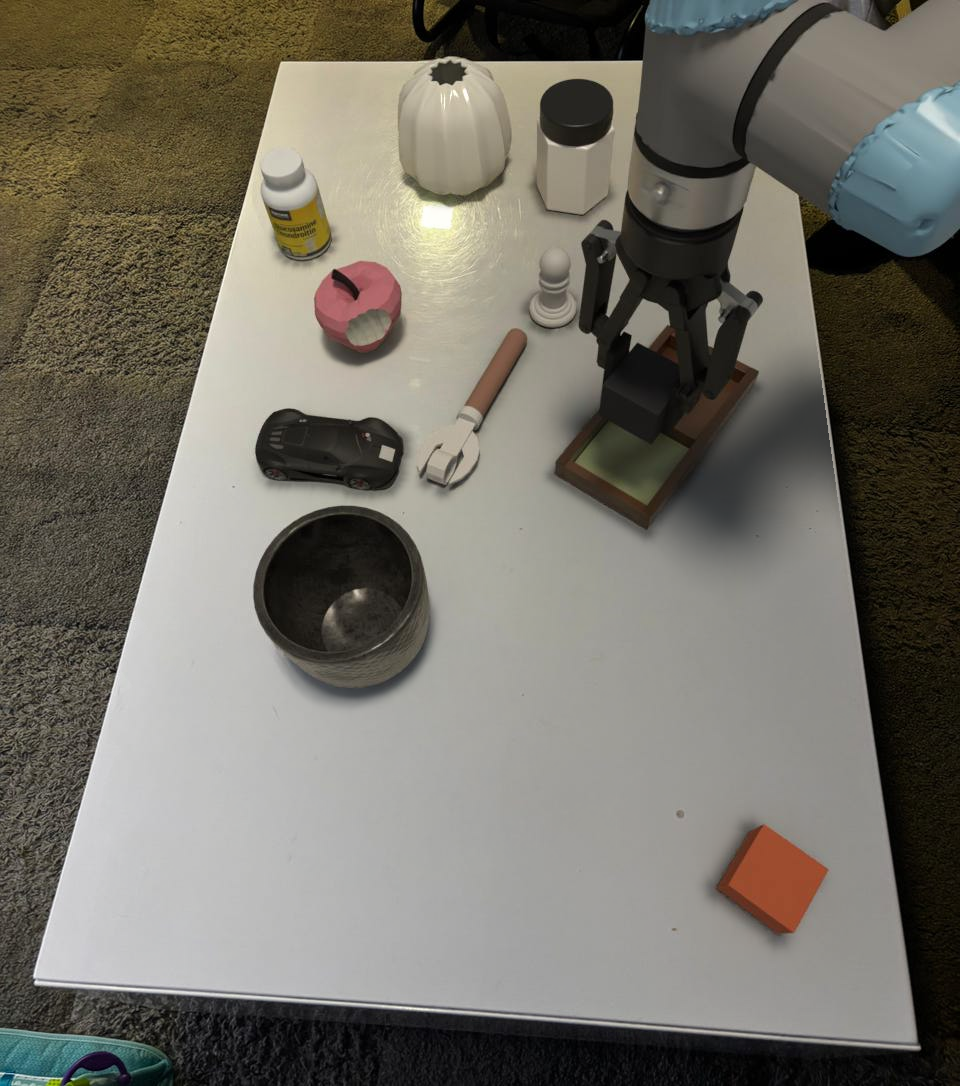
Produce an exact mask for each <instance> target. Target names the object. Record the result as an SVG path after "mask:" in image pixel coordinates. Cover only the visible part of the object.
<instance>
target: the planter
mask: <svg viewBox="0 0 960 1086" xmlns="http://www.w3.org/2000/svg"><path fill="white" fill-rule="evenodd" d="M419 551H420V550H419V548H418V547H417V545H416V543H415V541H414V540H413V538H412V537H411V535H410V534H409V533H408V531H407V530H406V529H404V527H403V526H402V525H401V524H400V523H398V522H397V521H396V520H394V519H393V518H391V517H390V516H388V515H386V514H385V513H382V512H381V511H378V510H376V509H372V508H369V507H366V506H365V507H364V506H358V505H344V504H343V505H335V506H334V505H333V506H328V507H324V508H320V509H316V510H313V511H311V512H309V513H306V514H304V515H302V516H300V517H298V518H297V519H295V520H294V521H292V522H291V523H290V524H288V525H287V526H285V527H284V528H283V529H282V530H280V532H279V533H278V534H276V536H275V537H274V538H273V539H272V540H271V542H270V543H269V545H268V546H267V547H266V548H265V550H264V552H263V554H262V556H261V557H260V560H259V562H258V564H257V568H256V571H255V575H254V580H253V585H252V586H253V588H252V589H253V591H252V599H253V605H254V610H255V613H256V616H257V619H258V622H259V624H260V626H261V628H262V630H263V631H264V633H265V635H266V636H267V637H268V638H269V640H270V641H271V642H272V643H273V644H274V646H275V647H276V648H277V649H278V650H279V651H280V652H282V653H283V655H285V656H286V657H287V658H288V659H290V660H291V661H292V662H293V663H294V664H295V665H296V666H298V667H299V668H300V669H301V670H302V671H304V672H305V673H306V674H308V675H309V676H311V677H314V678H315V679H316V680H318V681H320V682H324V683H326V684H329V685H331V686H335V687H341V688H349V689H351V688H352V689H358V688H359V689H360V688H367V687H372V686H376V685H379V684H382V683H384V682H386V681H389V680H390V679H392V678H394V677H395V676H396V675H398V674H400V673H401V672H402V671H403V670H405V669H406V668H407V667H408V666H409V665H410V664H411V662H412V661H413V660H414V658H415V657H416V656H417V654H418V653H419V652H420V650H421V648H422V646H423V643H424V641H425V639H426V637H427V632H428V629H429V624H430V623H429V621H430V613H431V612H430V611H431V610H430V609H431V606H430V595H429V586H428V579H427V575H426V571H425V567H424V563H423V558H422V556H421V553H420V552H419Z"/></svg>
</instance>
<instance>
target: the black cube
mask: <svg viewBox="0 0 960 1086" xmlns="http://www.w3.org/2000/svg"><path fill="white" fill-rule="evenodd" d="M679 377H680V373H679V364H678V363H676V362H674V361H672V360H670V359H668V358H666V357H664V356H662V355H660V354H658V353H657V352H655V351H653V350H651V349H649V347H647V346H645V345H643V344H641V343H639V342H636V343H635V345H633V347H631V349H630V350H629V353H628V355H627V356H626V357H625V358H624V359H623V361H622V362H621V363H620V364H619V366H618V367H617V368H616V369H615V370H614V372H613V373H612V374H611V375H610V376H609V377H608V379H607V380H606V381H605V382H604V383H603V382H602V383H603V385H602V384H601V391H602V392H601V391H600V401H599V407H598V409H599V416H601V417H603V418H605V419H607V420H608V421H610V422H612V423H614V424H615V425H617V426H619V427H621V428H622V429H624V430H626V431H628V432H629V433H631V434H633V435H635V436H637V437H638V438H640V439H642V440H644V441H645V442H647V443H649V444H652V443H653V442H654V441H655V439H656V438H657V437H658V435H659V434H660V431H661V427H662V423H663V419H664V416H665V412H666V408H667V402H668V398H669V394H670V390H671V387H672V386H673V384H674V383H675V382H676V380H677V379H678V378H679Z"/></svg>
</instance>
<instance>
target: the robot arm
mask: <svg viewBox="0 0 960 1086" xmlns="http://www.w3.org/2000/svg"><path fill="white" fill-rule="evenodd" d="M644 23H645V30H644V41H643V53H642V63H641V64H642V65H641V75H640V85H639V87H640V88H639V97H638V105H637V112H636V114H635V124H634V130H633V137H632V145H631V152H630V159H629V167H628V176H627V188H626V189H627V190H626V191H625V196H624V204H623V210H622V211H623V212H622V220H621V228H620V231H619V230H614V227H613V225H612V223H611V222H610V221H609V220H606V219H601V220H600V221H599V222H598V223H597V224H596V225H595V226H594V227H593V229H592V230H591V231H590V232H589V233H588V234H587V235H586V236H585V237H584V239H583V240H582V241H581V242H580V243H581V244H580V245H581V246H580V247H581V250H582V254H583V259H584V263H585V270H584V278H583V285H582V292H581V293H582V294H581V299H580V301H581V302H580V309H579V318H578V328H579V331H581V333H583V334H585V335H589V334H592V335H593V336H594V337H595V338H596V339H595V340H596V344H597V345H598V346H597V354H596V363H597V364H596V365H597V366H598V367H599V368H601V369H602V370H603V377H602V383H601V386H602V385H603V383H604V382H605V381H606V380H607V379H608V377H609V376H610V375H611V374H612V373H613V372H614V370H615V369H616V368H617V367H618V366H619V364H620V363H621V362H622V361H623V359H624V358H625V357H626V356H627V355H628V353H629V352H630V351H631V342H632V339H633V338H632V336H633V335H632V334H630V333H629V332H626V331H625V328H626V327H627V326H628V325H629V322H630V320H631V319H632V317H633V315H634V314H635V312H636V311H637V309H638V308H639V306H640V304H641V303H642V301H643V300H646V301H647V302H649V303H654V304H657V305H659V307H661V308H663V310H665V311H666V312H668V320H669V326H670V327H671V328H674V329H675V338H676V347H677V356H678V364H679V373H680V377H679V378H678V379H677V380H676V382H675V383H674V384H673V386H672V387H671V390H670V394H669V398H668V402H667V408H666V412H665V416H664V419H663V423H662V427H661V431H660V433H662V434H664V435H666V436H668V435H669V433H670V432H671V431H672V430H673V428H674V427H675V426H676V424H677V423H678V422H679V420H680V419H681V418H682V416H683V415H684V412H685V413H686V414H688V413H690V412H691V411H692V409H693V408H694V407H695V405H696V404H697V403H698V401H699V400H700V396H701V393H702V392H703V394H704V396H705V397H706V398H708V399H710V400H714V399H716V397H717V396H718V395H719V393H720V392H721V391H722V389H723V388H724V387H725V385H726V384H727V383H728V381H729V380H730V379H731V377H732V375H733V371H734V368H735V364H736V361H737V360H738V358H739V355H740V354H739V353H740V351H741V347H742V342H743V340H744V337H745V333H746V330H747V325H748V324H749V320H751V318H752V317H753V316H754V314H755V313H756V311H757V310H758V309H759V308H760V306H761V305H762V304H763V302H764V297H763V295H762V294H761V293H760V292H758V291H757V290H749V291H748V292H747V293H746V294H744V293H743V292H742V291H741V290H740V289H738V288H737V287H736V286H735V285H733V284H732V283H731V271H730V268H729V261H730V258H731V254H732V251H733V247H734V244H735V241H736V237H737V234H738V231H739V226H740V223H741V220H742V216H743V213H744V207H745V204H746V202H747V200H748V196H749V192H750V190H751V185H752V182H753V178H754V174H755V171H756V168H758V169H760V170H761V171H762V172H764V173H765V174H767V175H768V176H770V177H771V178H772V179H774V180H775V181H777V182H778V183H780V184H782V185H783V186H785V188H788V190H790V191H792V192H793V193H795V194H796V195H798V196H799V197H800V198H802V199H804V200H805V201H807V202H808V203H809V204H811V205H812V206H814V207H816V208H817V209H818V210H820V211H821V212H823V213H824V214H826V215H827V216H828V217H830V218H831V220H833V221H834V223H836V225H838V226H840V227H841V228H842V229H845V230H846V231H853V232H855V233H857V234H859V235H861V236H863V237H865V238H867V239H868V240H870V241H872V242H873V243H876V244H877V245H879V246H881V247H883V248H885V249H887V250H888V251H891V252H892V253H894V254H896V255H898V256H901V257H905V258H913V257H914V258H915V257H920V256H923V255H926V254H929V253H931V252H933V251H934V250H935V249H938V248H939V247H941V246H942V245H943V244H945V243H946V242H947V241H948V240H950V238H951V237H953V236H954V235H955V234H956V233H957V232H958V231H959V230H960V0H927V1H925V2H924V3H922V4H921V5H920V6H918V7H916V9H914V10H912V11H911V12H909V13H908V14H906V15H905V16H904V17H902V18H901V19H900V20H898V21H897V22H895V23H894V24H892V25H891V26H889V27H888V28H887V29H885V30H883V29H881V28H879V27H877V26H875V25H873V24H872V23H869V22H867V21H865V20H863V19H861V18H859V17H858V16H856V15H854V14H853V13H851V12H848V11H846V10H844V9H842V8H840V7H838V6H836V5H834V3H832V2H830V1H829V0H649V4H648V6H647V9H646V10H645V14H644ZM617 257H618V259H619V261H620V263H621V265H622V267H623V269H624V271H625V272H626V276H627V277H628V281H627V284H626V286H625V287H624V289H623V291H622V292H621V294H620V295H619V299H618V301H617V303H616V305H615V307H614V308H613V310H612V311H611V313H610V315H609V316H608V315H607V313H608V309H609V303H610V297H611V292H612V291H611V290H612V286H613V285H612V284H613V279H614V272H615V266H616V262H617ZM715 300H717V301H718V302H719V305H720V308H719V310H718V312H719V316H718V318H717V321H718V322H719V323H721V325H720V326H719V328H718V329H717V332H716V335H715V339H714V343H713V347H712V348H713V351H712V355H711V359H710V363H709V349H708V346H709V337H708V325H707V313H706V312H707V307H708V305H709V303H711V302H714V301H715ZM601 392H602V390H601V391H600V393H601Z"/></svg>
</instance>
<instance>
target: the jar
mask: <svg viewBox="0 0 960 1086" xmlns="http://www.w3.org/2000/svg"><path fill="white" fill-rule="evenodd" d="M613 117H614V98H613V95H612V93H611V92H610V91H609V89H608V88H607V87H605V86H604V85H603V84H601V83H599V82H598V81H594V80H591V79H585V78H571V79H570V78H569V79H563V80H561V81H559V82H556V83H554V84H552V85H551V86H549V87H548V88H547V89H545V91H544V92H543V94H542V96H541V98H540V101H539V117H537V118H536V186H537V189H538V191H539V194H540V197H541V199H542V201H543V204H544V205H545V208H546V210H548V211H554V212H561V213H567V214H573V215H581V216H583V215H585V214H586V213H587V212H589V211H590V210H591V209H592V208H594V207H595V206H596V205H598V204H599V203H600V202H601V201H603V200H604V199H605V198H606V197H608V195H609V187H610V179H611V167H612V158H613V148H614V138H615V126H614V125H613Z"/></svg>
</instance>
